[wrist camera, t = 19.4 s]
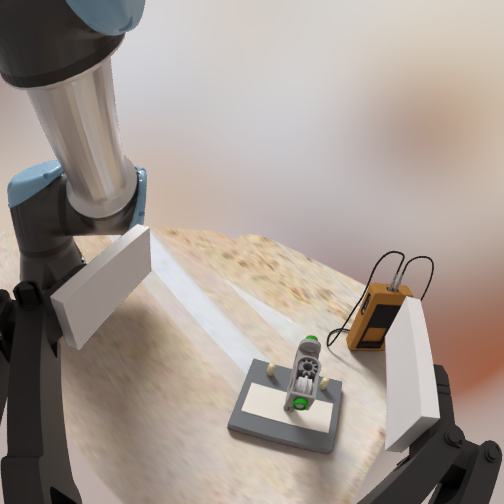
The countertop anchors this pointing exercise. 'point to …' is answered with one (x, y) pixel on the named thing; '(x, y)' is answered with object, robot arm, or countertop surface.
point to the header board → (285, 422)
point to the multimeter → (377, 311)
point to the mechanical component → (304, 376)
